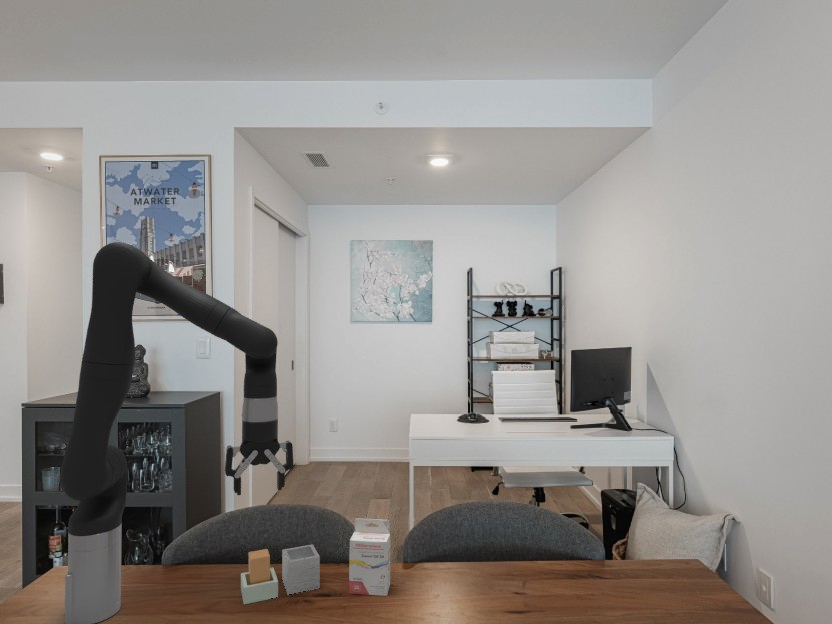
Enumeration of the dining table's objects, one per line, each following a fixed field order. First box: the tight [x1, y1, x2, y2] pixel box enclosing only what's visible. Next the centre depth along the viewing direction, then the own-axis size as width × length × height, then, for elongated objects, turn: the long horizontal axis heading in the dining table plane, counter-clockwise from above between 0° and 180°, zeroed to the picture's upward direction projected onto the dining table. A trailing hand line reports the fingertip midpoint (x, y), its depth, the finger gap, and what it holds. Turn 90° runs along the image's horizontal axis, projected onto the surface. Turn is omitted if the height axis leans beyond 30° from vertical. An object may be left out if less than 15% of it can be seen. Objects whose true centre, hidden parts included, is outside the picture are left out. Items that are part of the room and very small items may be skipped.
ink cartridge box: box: [348, 517, 391, 597], centre depth 114 cm, size 9×5×15 cm, turn 84°
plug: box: [247, 548, 271, 585], centre depth 113 cm, size 4×4×8 cm
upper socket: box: [281, 543, 321, 596], centre depth 116 cm, size 7×7×7 cm
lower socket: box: [240, 567, 279, 605], centre depth 113 cm, size 7×7×3 cm
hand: (259, 491), depth 113 cm, fingers open, 8 cm apart
